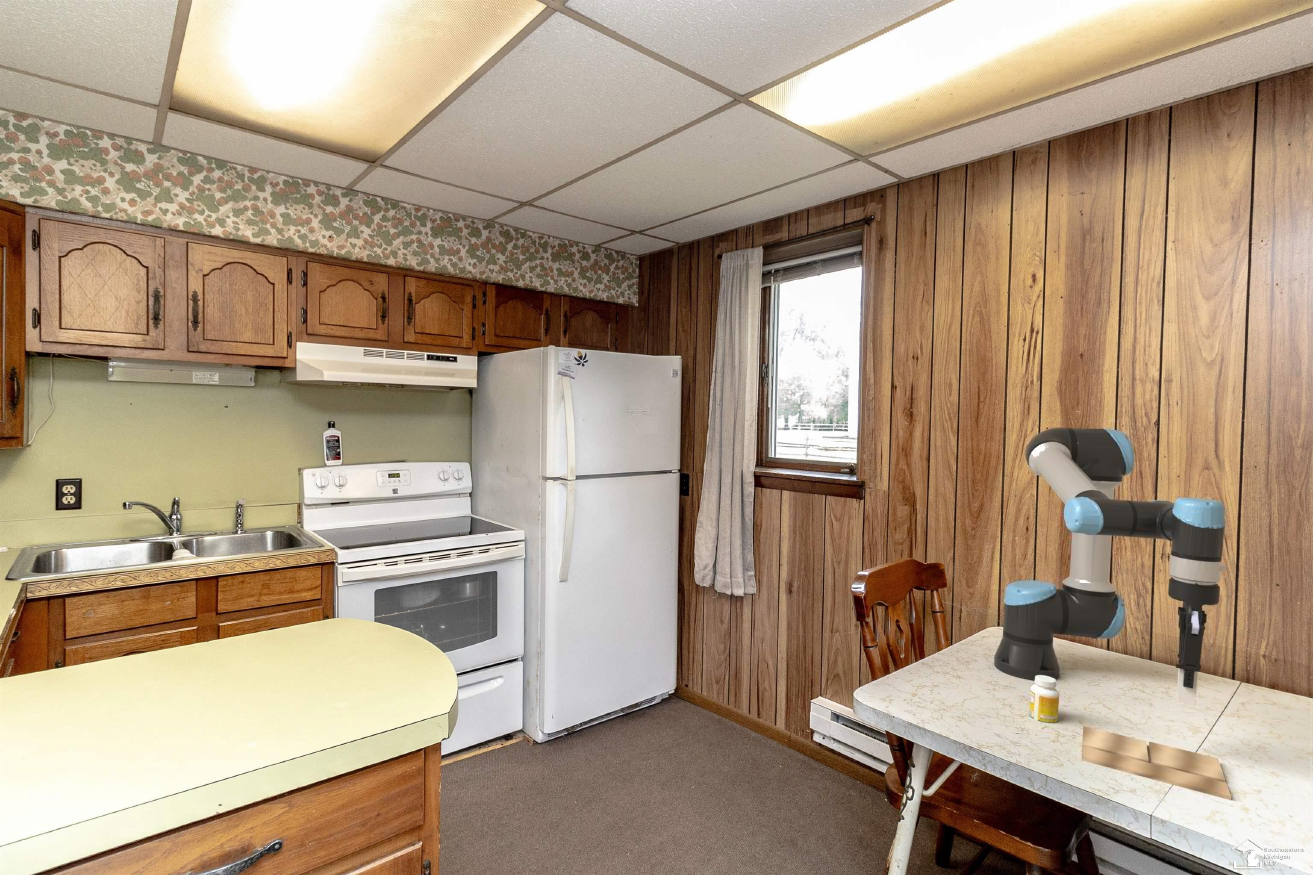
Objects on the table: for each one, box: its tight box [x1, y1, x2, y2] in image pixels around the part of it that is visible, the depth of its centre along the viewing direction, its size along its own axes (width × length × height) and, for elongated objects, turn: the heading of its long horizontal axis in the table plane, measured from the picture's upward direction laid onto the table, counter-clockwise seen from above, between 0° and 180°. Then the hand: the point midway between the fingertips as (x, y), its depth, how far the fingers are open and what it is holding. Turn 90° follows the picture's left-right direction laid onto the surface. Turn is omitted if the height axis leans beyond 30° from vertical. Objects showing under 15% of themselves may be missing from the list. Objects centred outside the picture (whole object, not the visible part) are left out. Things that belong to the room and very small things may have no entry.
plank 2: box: [1148, 741, 1226, 783], centre depth 124 cm, size 10×9×1 cm
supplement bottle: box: [1028, 675, 1060, 724], centre depth 143 cm, size 5×5×10 cm
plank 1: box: [1081, 725, 1150, 763], centre depth 130 cm, size 10×9×1 cm
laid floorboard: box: [1081, 745, 1232, 801], centre depth 121 cm, size 22×5×1 cm, turn 56°
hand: (1185, 701), depth 125 cm, fingers closed
